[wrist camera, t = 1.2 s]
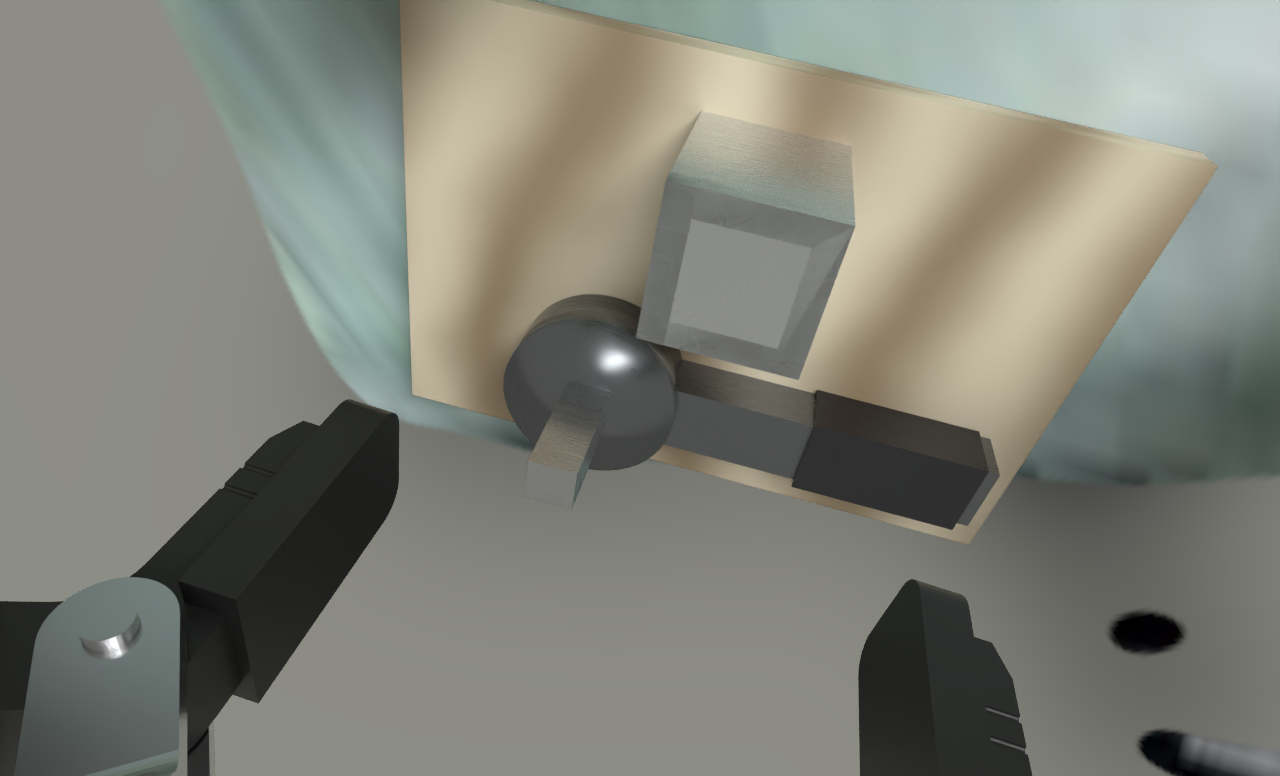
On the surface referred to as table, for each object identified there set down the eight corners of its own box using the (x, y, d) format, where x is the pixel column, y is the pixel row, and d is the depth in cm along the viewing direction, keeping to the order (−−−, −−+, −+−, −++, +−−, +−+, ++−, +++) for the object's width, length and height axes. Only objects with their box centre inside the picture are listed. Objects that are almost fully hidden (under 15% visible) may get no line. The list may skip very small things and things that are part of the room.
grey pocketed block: (851, 145, 22) (855, 225, 17) (805, 279, 25) (798, 379, 20) (701, 111, 22) (665, 180, 18) (673, 246, 25) (635, 338, 20)
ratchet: (1014, 398, 26) (1061, 542, 20) (940, 521, 30) (963, 670, 24) (531, 275, 27) (455, 380, 22) (520, 408, 31) (453, 526, 26)
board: (1201, 152, 21) (1218, 166, 20) (965, 523, 31) (968, 544, 30) (416, -26, 23) (398, -21, 22) (424, 378, 33) (412, 394, 32)
